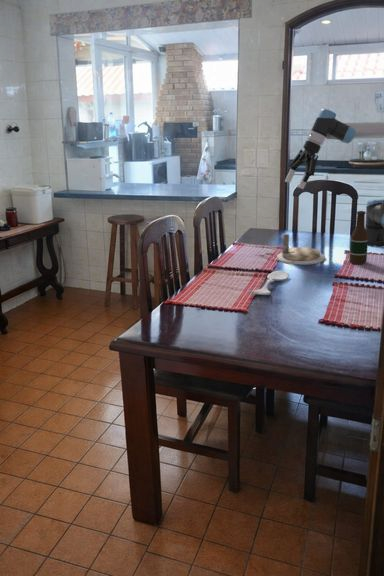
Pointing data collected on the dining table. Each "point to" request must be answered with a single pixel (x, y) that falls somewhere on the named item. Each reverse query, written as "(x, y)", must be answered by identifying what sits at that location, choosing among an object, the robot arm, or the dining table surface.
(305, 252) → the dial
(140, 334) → the dining table surface
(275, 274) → the spoon
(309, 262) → the white plate
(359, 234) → the beer bottle
